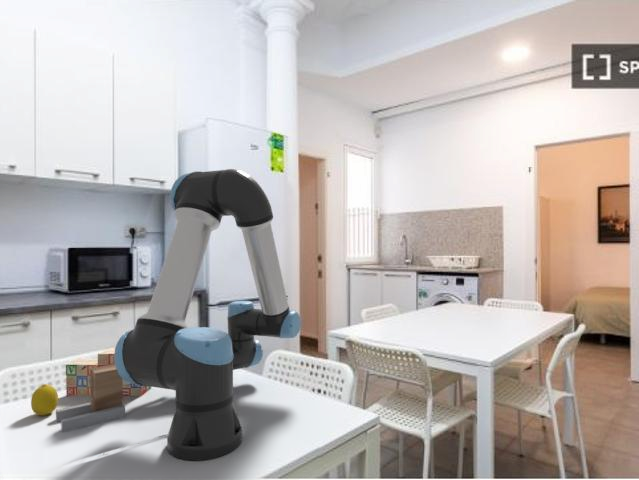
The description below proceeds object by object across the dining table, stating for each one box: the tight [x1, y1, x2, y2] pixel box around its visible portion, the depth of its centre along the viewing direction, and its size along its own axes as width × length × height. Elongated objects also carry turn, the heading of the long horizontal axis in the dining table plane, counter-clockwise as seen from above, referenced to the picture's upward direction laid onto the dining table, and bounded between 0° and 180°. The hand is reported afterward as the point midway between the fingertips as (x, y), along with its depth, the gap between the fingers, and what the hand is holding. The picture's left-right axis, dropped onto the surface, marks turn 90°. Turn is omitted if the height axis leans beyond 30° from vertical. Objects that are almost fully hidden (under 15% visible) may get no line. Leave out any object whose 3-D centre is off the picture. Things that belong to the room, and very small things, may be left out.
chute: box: [55, 401, 126, 433], centre depth 103 cm, size 9×13×3 cm
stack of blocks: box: [65, 347, 152, 397], centre depth 121 cm, size 21×6×12 cm, turn 86°
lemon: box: [30, 383, 59, 417], centre depth 106 cm, size 6×6×8 cm
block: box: [90, 364, 124, 413], centre depth 105 cm, size 5×6×11 cm
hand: (120, 379), depth 108 cm, fingers closed
